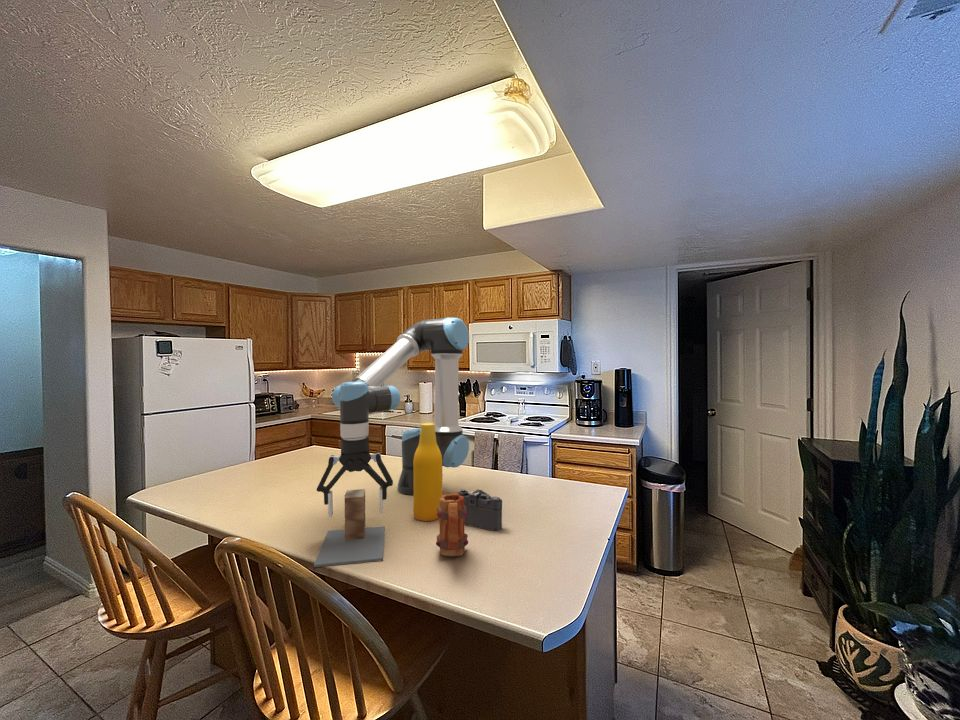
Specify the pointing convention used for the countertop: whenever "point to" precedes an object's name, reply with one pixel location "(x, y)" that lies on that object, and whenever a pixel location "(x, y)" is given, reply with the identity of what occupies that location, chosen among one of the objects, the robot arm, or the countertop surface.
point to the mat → (351, 548)
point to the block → (355, 514)
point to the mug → (452, 525)
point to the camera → (482, 510)
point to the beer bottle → (427, 475)
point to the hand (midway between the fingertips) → (356, 513)
